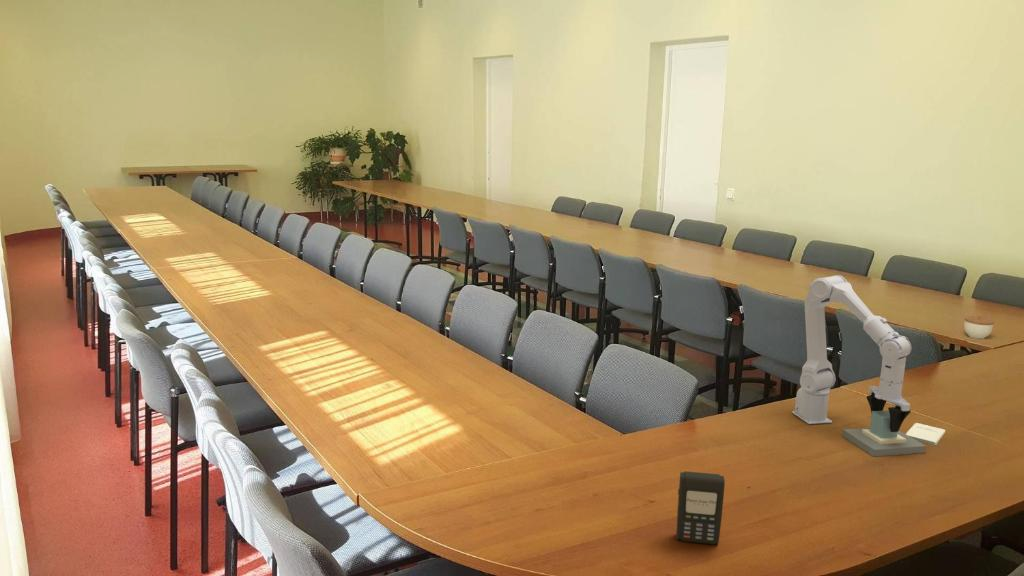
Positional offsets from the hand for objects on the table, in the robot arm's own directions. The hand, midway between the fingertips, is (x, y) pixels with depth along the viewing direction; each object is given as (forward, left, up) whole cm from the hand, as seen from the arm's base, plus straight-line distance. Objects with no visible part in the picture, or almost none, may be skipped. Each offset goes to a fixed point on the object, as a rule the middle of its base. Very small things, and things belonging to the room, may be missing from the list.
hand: (885, 426), depth 217 cm
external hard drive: (-4, +17, -6) cm, 18 cm away
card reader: (+39, -74, -6) cm, 84 cm away
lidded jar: (-95, +116, -6) cm, 150 cm away
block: (0, 0, -2) cm, 2 cm away
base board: (0, 0, -5) cm, 5 cm away
